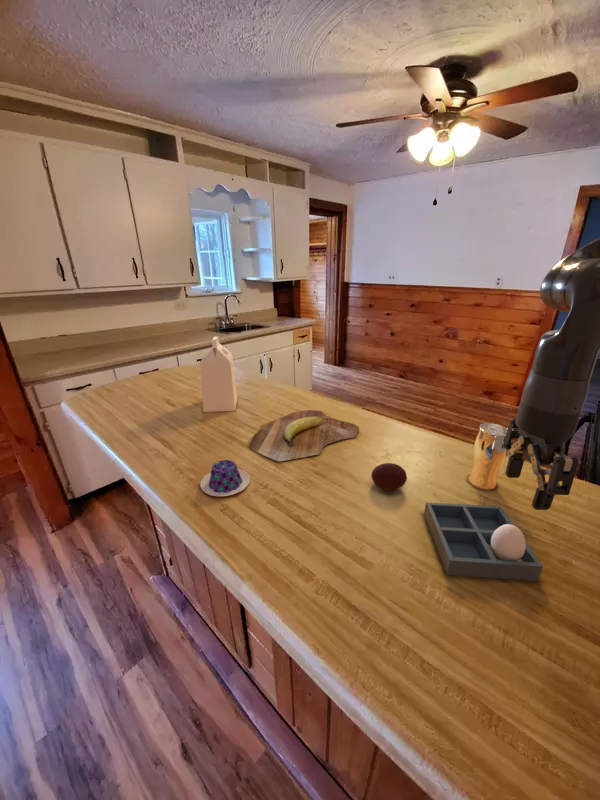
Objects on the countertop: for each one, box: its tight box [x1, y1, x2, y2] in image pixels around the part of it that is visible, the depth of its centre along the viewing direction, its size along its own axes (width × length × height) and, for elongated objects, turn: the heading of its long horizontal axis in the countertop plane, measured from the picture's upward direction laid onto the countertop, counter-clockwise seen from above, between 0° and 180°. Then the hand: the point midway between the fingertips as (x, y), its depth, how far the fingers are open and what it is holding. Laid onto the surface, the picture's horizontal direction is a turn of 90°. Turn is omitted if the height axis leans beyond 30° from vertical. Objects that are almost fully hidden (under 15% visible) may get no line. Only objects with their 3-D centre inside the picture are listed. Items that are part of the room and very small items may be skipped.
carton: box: [423, 501, 544, 582], centre depth 65 cm, size 15×15×3 cm
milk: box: [200, 336, 238, 413], centre depth 125 cm, size 12×12×26 cm
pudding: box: [199, 459, 251, 497], centre depth 82 cm, size 12×12×5 cm
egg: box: [491, 524, 527, 561], centre depth 60 cm, size 5×5×7 cm
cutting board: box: [249, 409, 360, 462], centre depth 107 cm, size 35×27×4 cm
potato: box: [371, 462, 408, 492], centre depth 81 cm, size 7×8×6 cm
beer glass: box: [468, 422, 508, 491], centre depth 82 cm, size 7×7×15 cm
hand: (524, 491), depth 56 cm, fingers open, 8 cm apart
